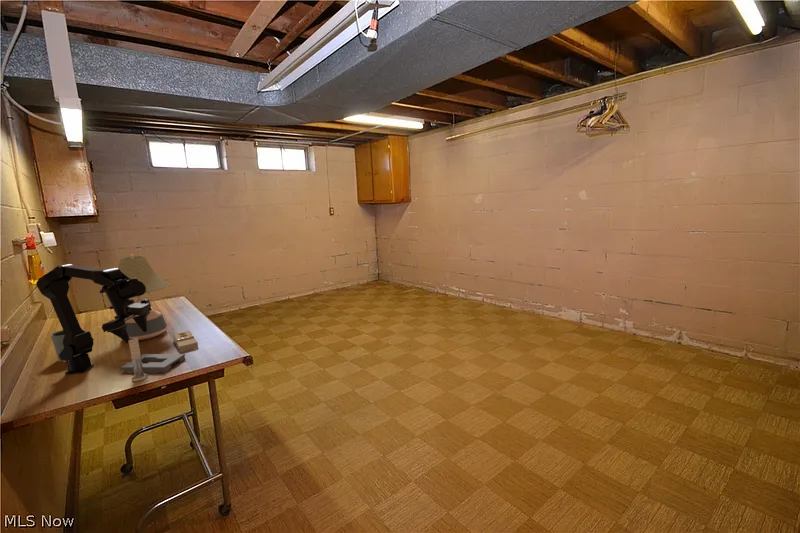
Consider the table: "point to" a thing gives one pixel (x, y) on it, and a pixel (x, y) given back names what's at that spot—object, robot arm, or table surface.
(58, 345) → the drinking glass
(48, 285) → the robot arm
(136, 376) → the steel post
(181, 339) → the electrical outlet
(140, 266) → the desk lamp
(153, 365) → the keyhole plate
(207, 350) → the table surface
